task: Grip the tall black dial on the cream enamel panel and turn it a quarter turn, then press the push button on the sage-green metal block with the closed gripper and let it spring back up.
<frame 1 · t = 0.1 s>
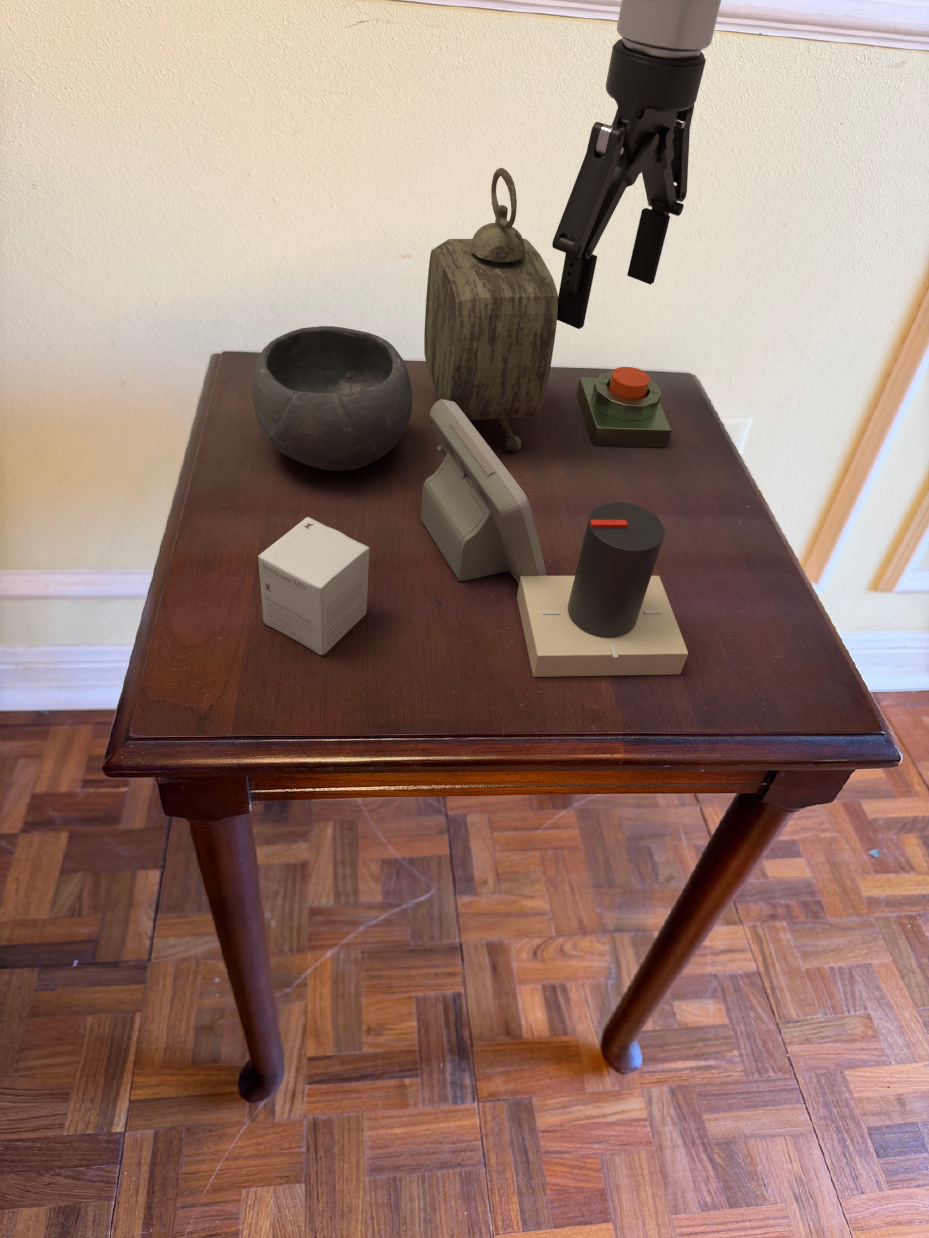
hand: (606, 300, 86), 14 cm above the table, tool pointing down, fingers open, 13 cm apart
dial panel: (595, 634, 74), on the table
push button: (629, 383, 94), point 4 cm above the table, slide at 0.1 cm
product box: (316, 620, 72), on the table
dial: (614, 569, 68), point 7 cm above the table, hinge at 0.0°
tabletop clock: (473, 425, 94), on the table
bowl: (334, 451, 89), on the table
digital clock: (480, 543, 81), on the table
button block: (620, 420, 97), on the table
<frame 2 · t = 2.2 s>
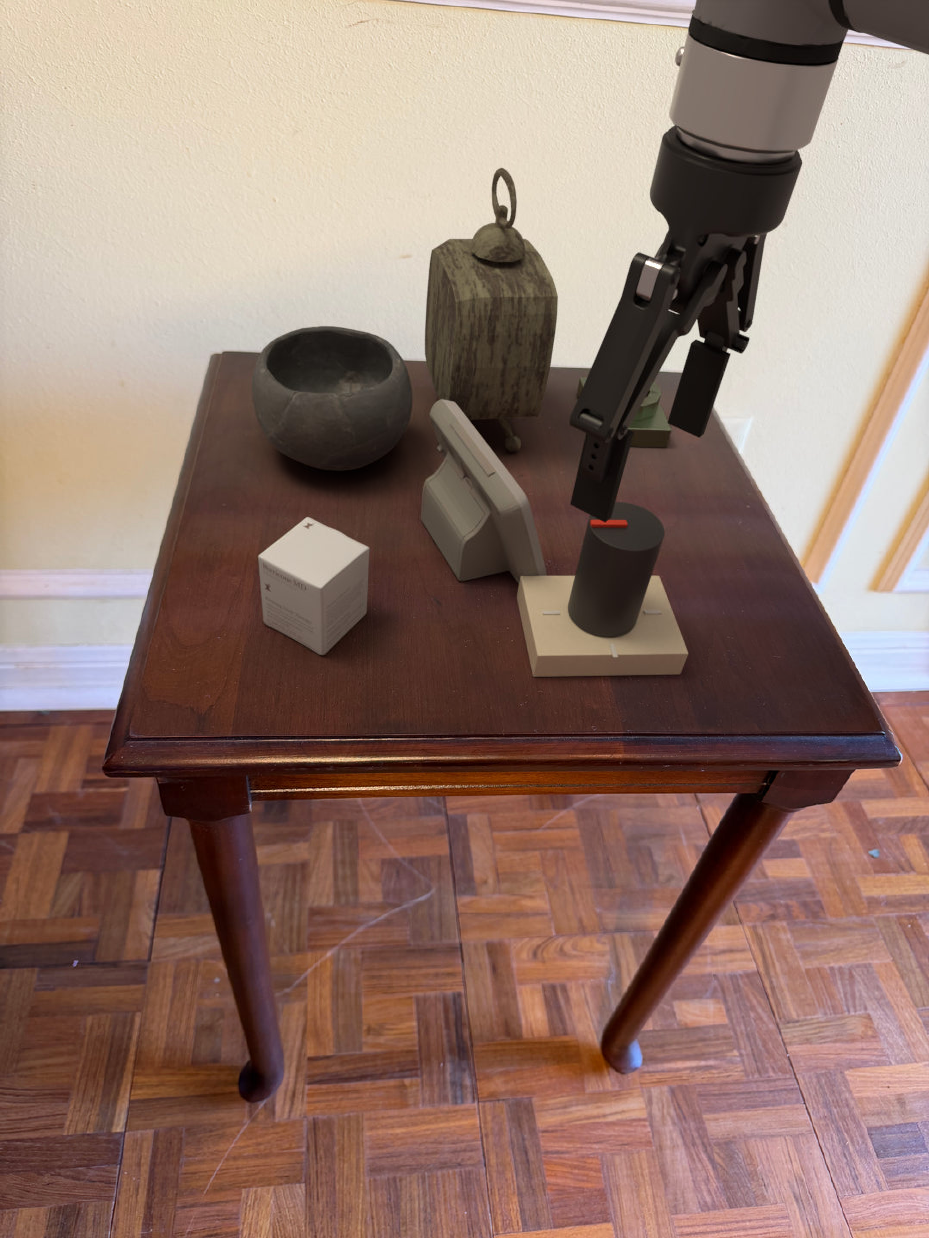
hand: (640, 467, 62), 16 cm above the table, tool pointing down, fingers open, 13 cm apart
nothing on the table moved.
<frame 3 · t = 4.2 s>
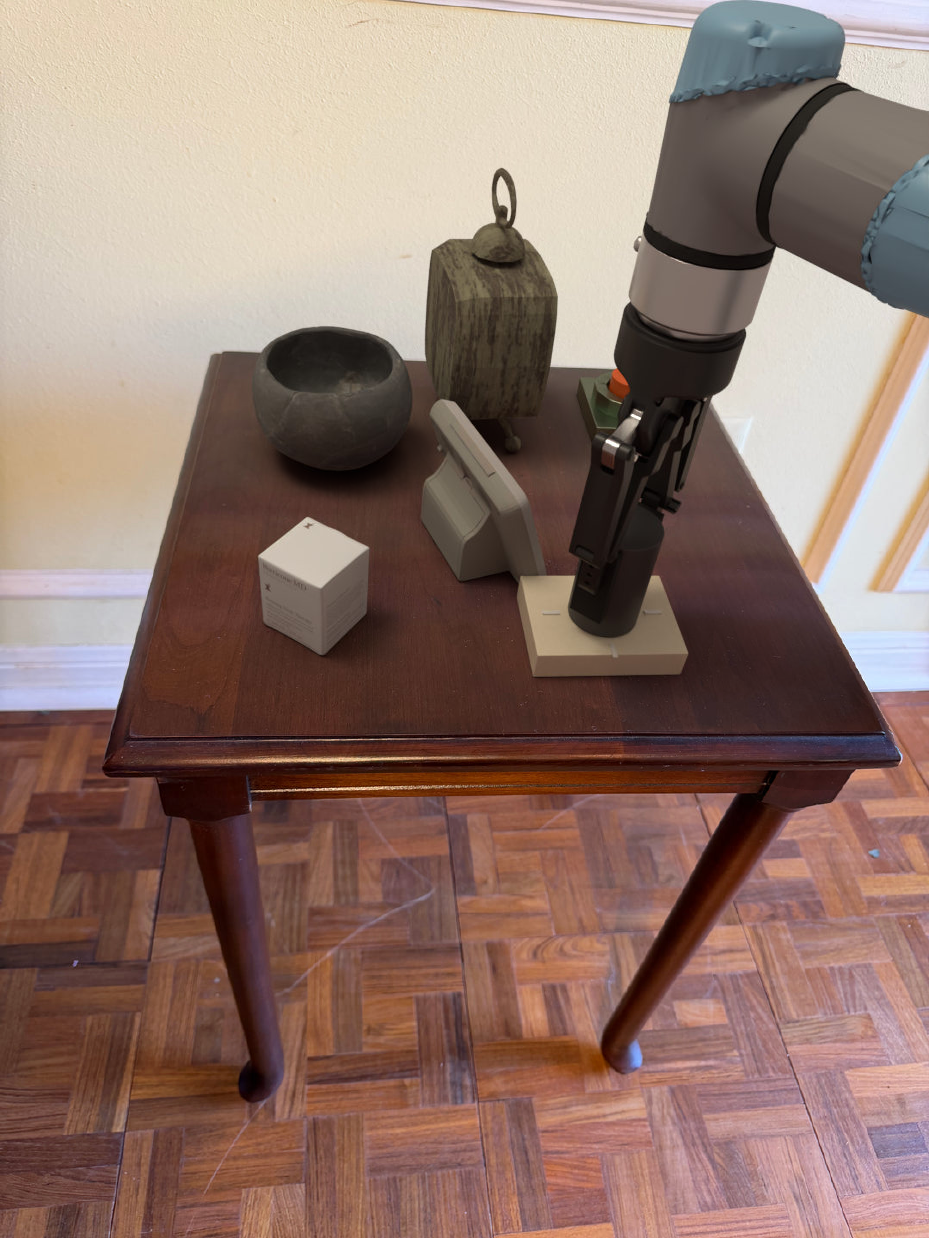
hand: (607, 592, 70), 5 cm above the table, tool pointing down, fingers closed on dial, 6 cm apart
dial: (614, 569, 68), point 7 cm above the table, hinge at -0.1°, touching gripper
everything else where it was.
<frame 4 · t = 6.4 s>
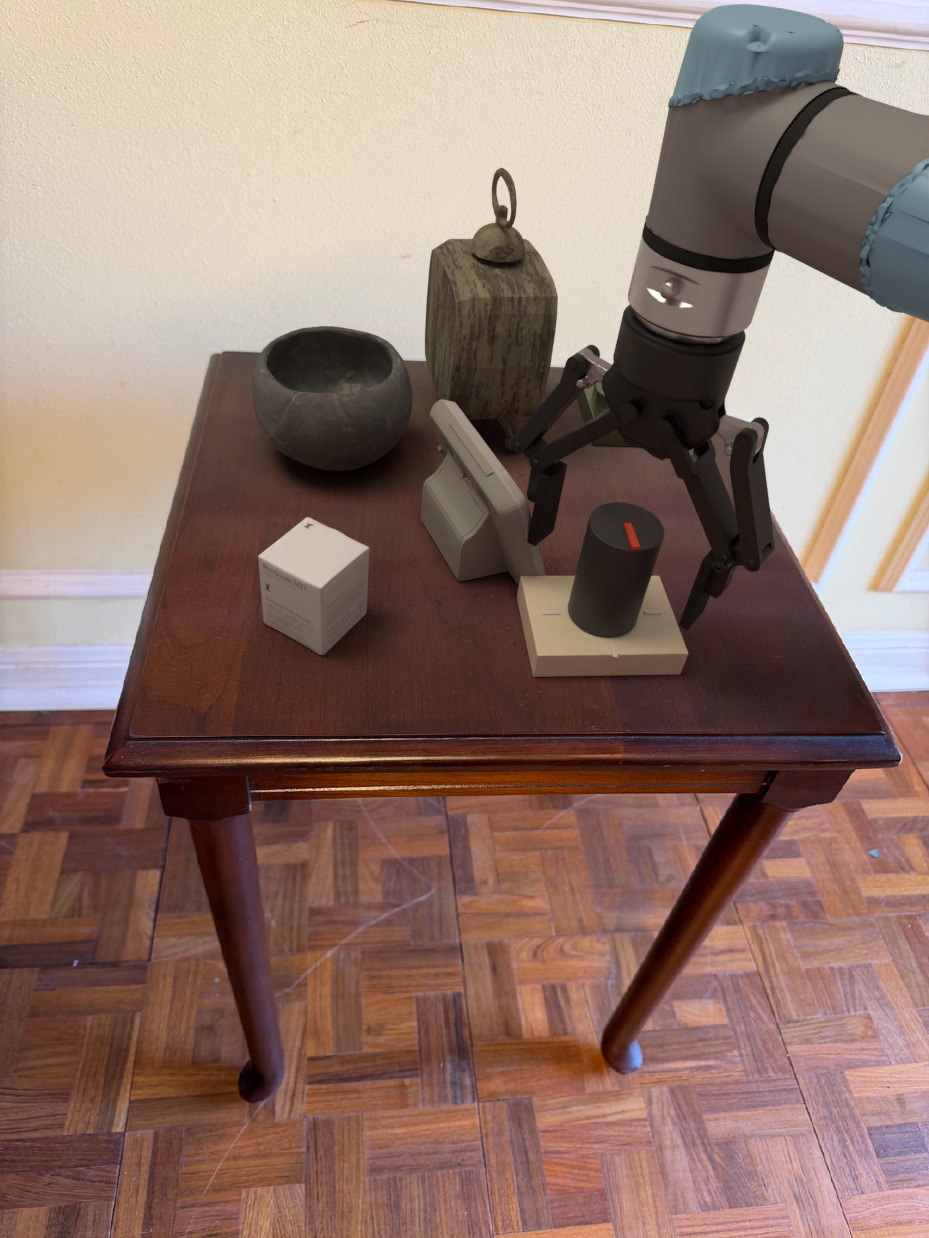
hand: (612, 576, 69), 7 cm above the table, tool pointing down, fingers open, 13 cm apart
dial: (614, 569, 68), point 7 cm above the table, hinge at 89.8°
digital clock: (480, 543, 81), on the table, touching dial panel, gripper
everything else where it was.
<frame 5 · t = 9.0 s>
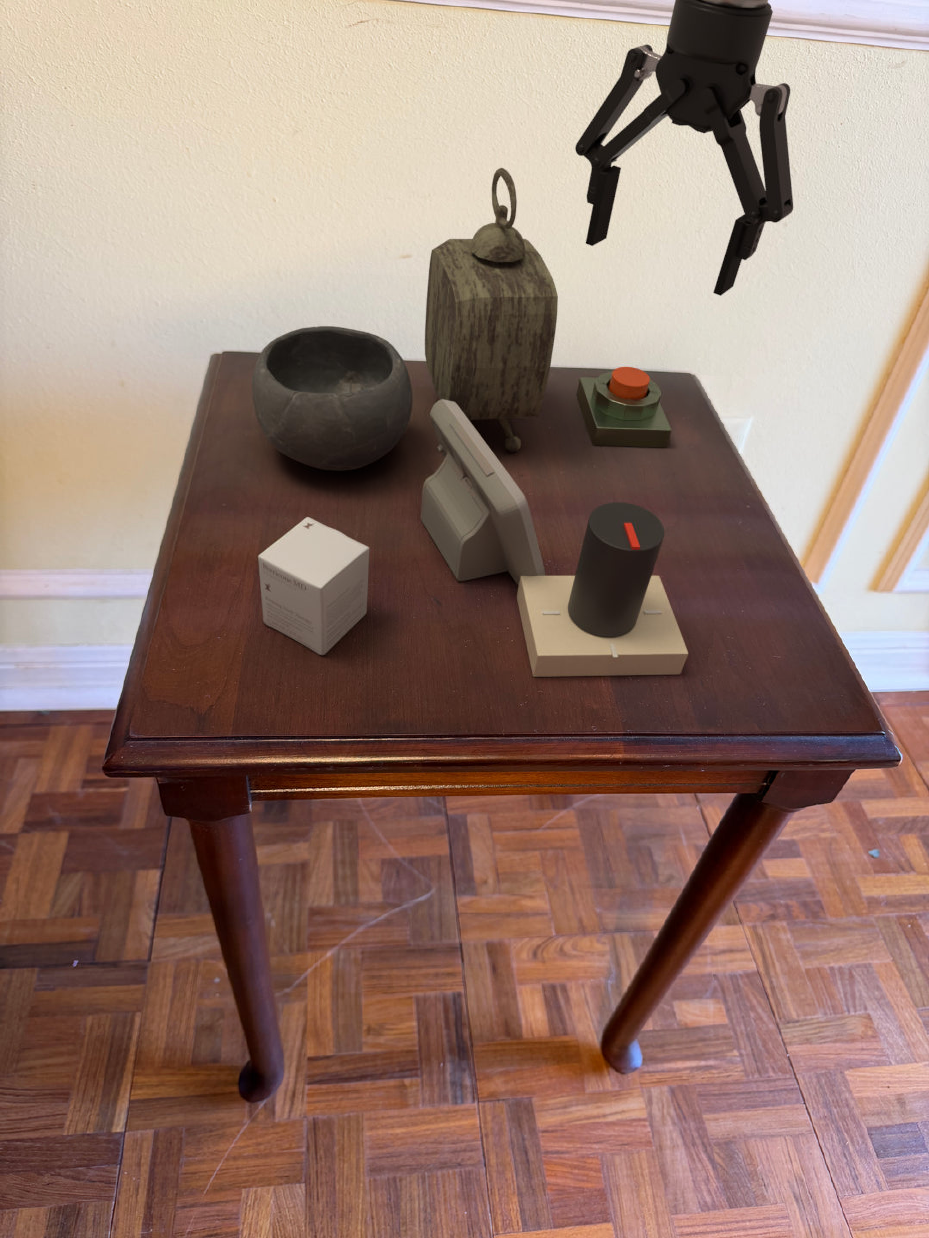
hand: (657, 265, 84), 18 cm above the table, tool pointing down, fingers open, 13 cm apart
digital clock: (480, 543, 81), on the table
everything else where it was.
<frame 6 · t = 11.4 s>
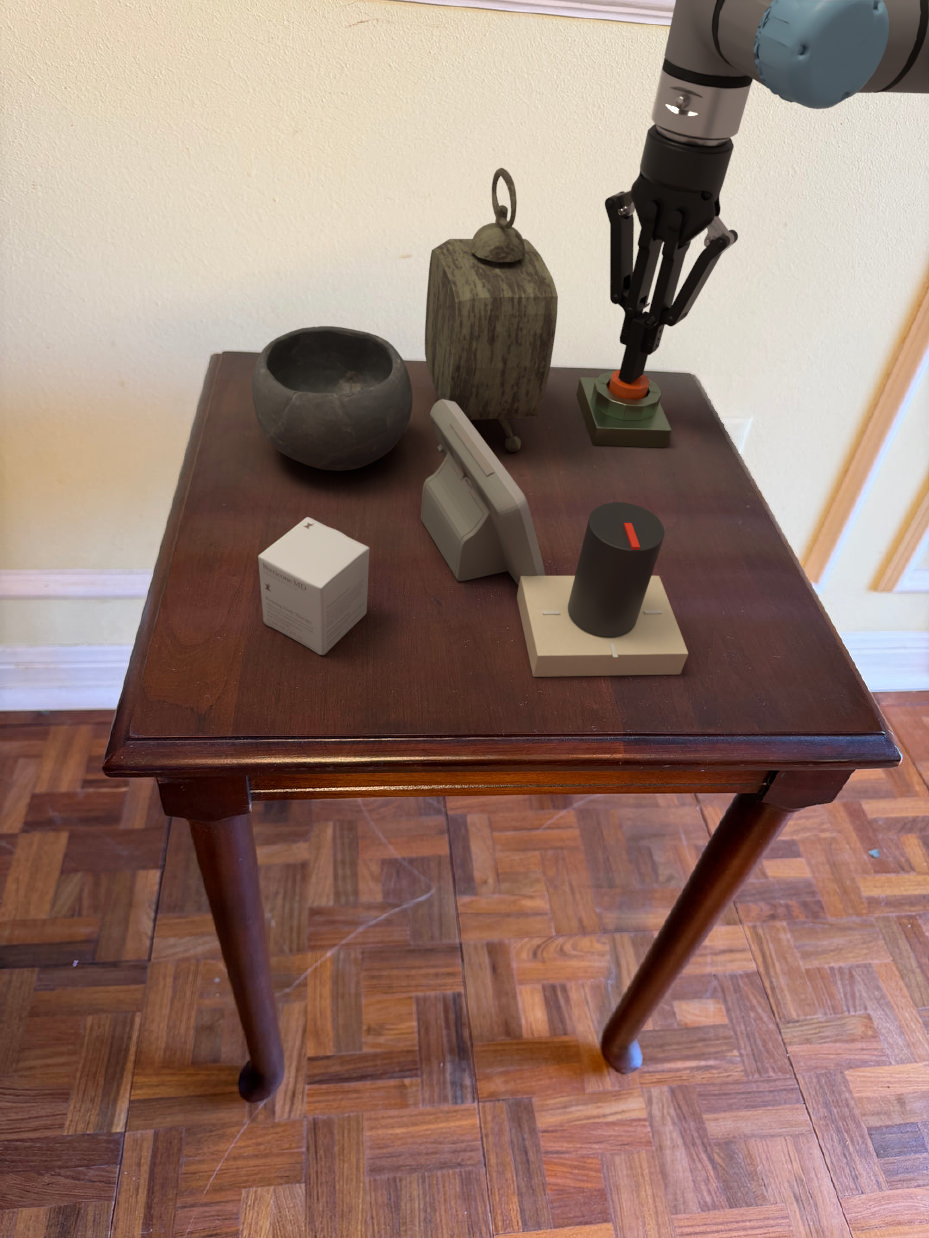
hand: (630, 376, 94), 5 cm above the table, tool pointing down, fingers closed
push button: (628, 386, 94), point 4 cm above the table, slide at -0.2 cm, touching gripper
everything else where it was.
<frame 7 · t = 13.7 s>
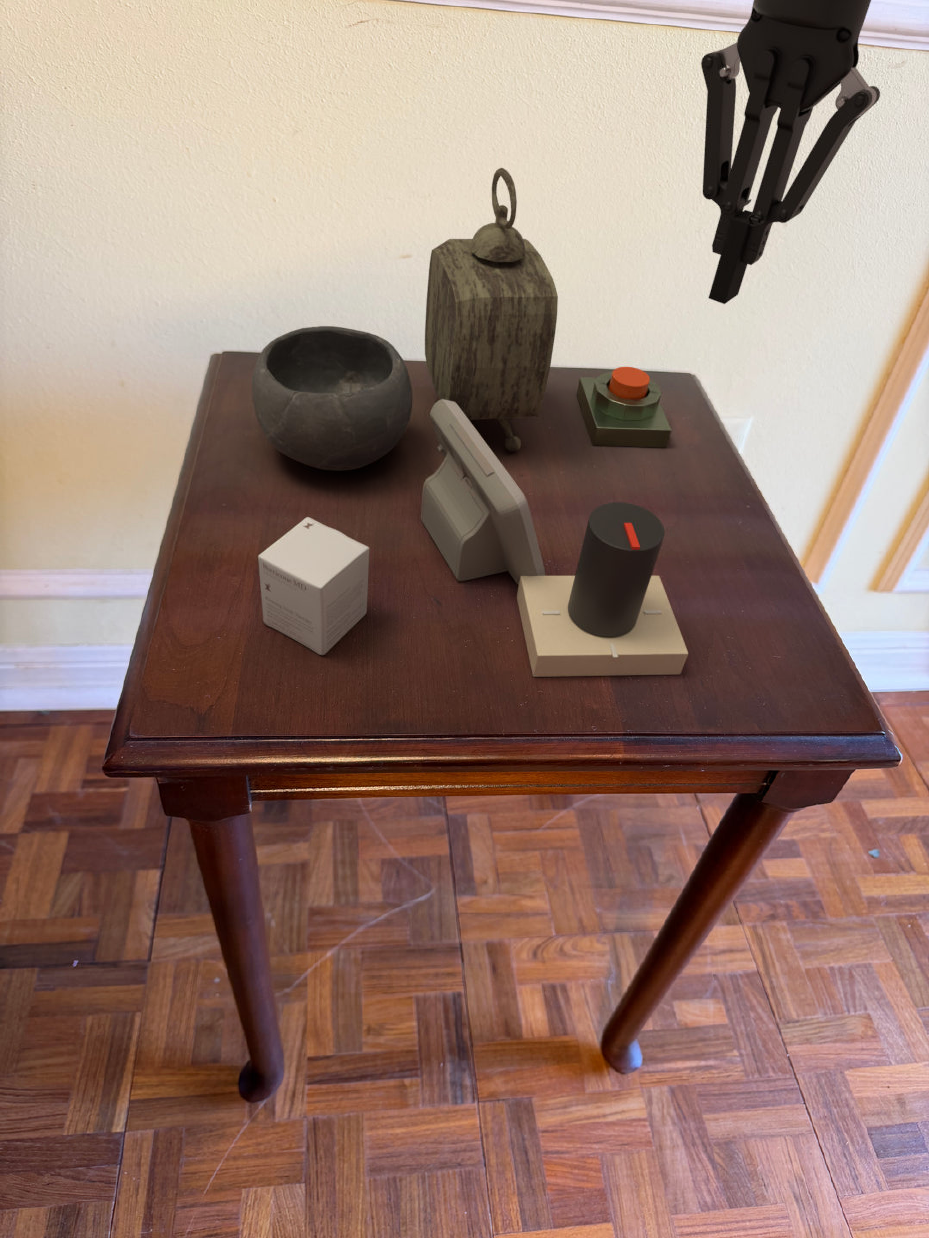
hand: (723, 296, 75), 20 cm above the table, tool pointing down, fingers closed
push button: (629, 383, 94), point 4 cm above the table, slide at 0.1 cm
everything else where it was.
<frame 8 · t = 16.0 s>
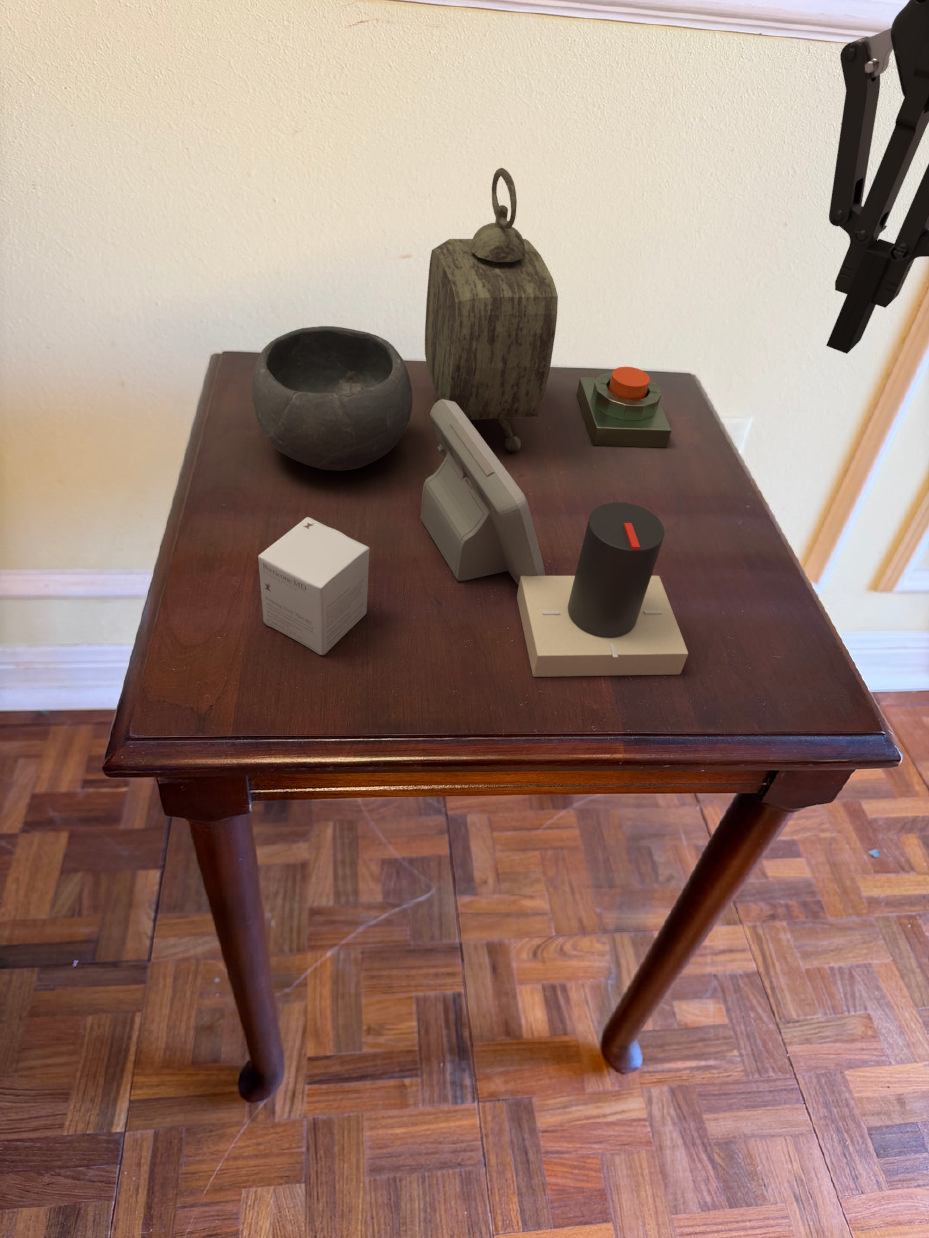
hand: (843, 342, 61), 24 cm above the table, tool pointing down, fingers closed
nothing on the table moved.
at the end: dial at +90° (first picture: +0°); push button pushed in 1.0 cm at the most during the clip, back to where it started at the end; push button slide at 0.1 cm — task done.
